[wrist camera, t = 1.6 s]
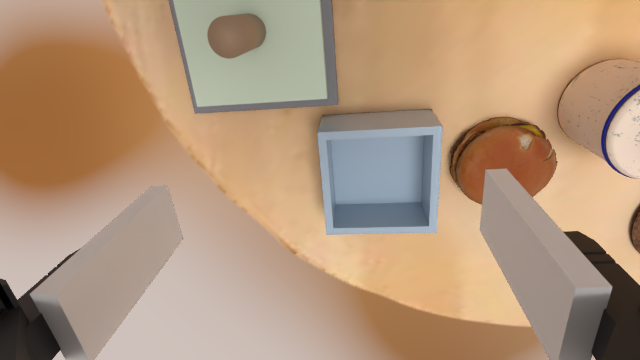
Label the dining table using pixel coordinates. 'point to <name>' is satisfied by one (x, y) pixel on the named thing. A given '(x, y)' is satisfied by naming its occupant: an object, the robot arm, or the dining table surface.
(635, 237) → the skull
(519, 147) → the burger
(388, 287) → the dining table surface
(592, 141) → the teacup with lid
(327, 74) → the mat
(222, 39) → the lid
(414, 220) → the open box
